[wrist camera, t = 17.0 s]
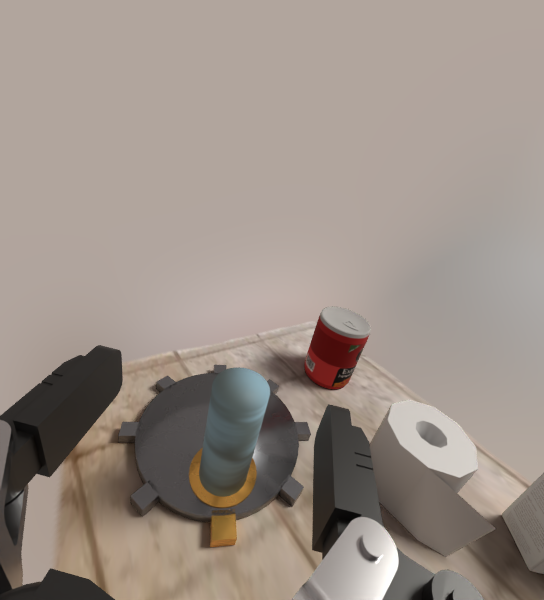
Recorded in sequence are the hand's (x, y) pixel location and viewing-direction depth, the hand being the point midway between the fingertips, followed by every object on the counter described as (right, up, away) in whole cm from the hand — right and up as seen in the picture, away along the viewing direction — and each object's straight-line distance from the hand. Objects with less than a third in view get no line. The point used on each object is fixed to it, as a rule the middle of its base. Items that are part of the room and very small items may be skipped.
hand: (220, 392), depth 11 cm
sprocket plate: (-4, -13, +25) cm, 29 cm away
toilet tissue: (+18, -19, +24) cm, 36 cm away
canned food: (+11, -9, +40) cm, 42 cm away
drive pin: (-3, -14, +20) cm, 25 cm away
